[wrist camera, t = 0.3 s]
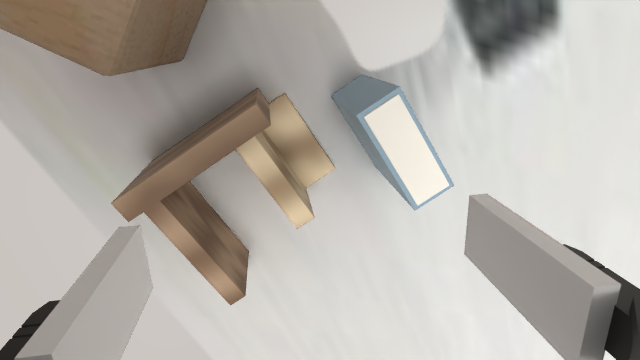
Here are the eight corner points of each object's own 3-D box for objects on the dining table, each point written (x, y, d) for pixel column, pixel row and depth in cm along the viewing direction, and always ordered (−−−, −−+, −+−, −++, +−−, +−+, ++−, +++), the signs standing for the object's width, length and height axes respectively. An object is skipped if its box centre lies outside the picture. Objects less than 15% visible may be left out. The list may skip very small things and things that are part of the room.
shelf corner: (151, 161, 43) (111, 203, 31) (258, 87, 42) (255, 103, 30) (236, 259, 48) (227, 325, 37) (333, 195, 47) (355, 243, 36)
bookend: (238, 124, 43) (232, 144, 34) (284, 93, 42) (289, 105, 34) (291, 195, 46) (296, 229, 38) (334, 166, 46) (349, 194, 37)
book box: (330, 95, 43) (356, 115, 31) (361, 74, 43) (400, 86, 30) (376, 167, 46) (415, 211, 34) (405, 148, 46) (455, 186, 34)
